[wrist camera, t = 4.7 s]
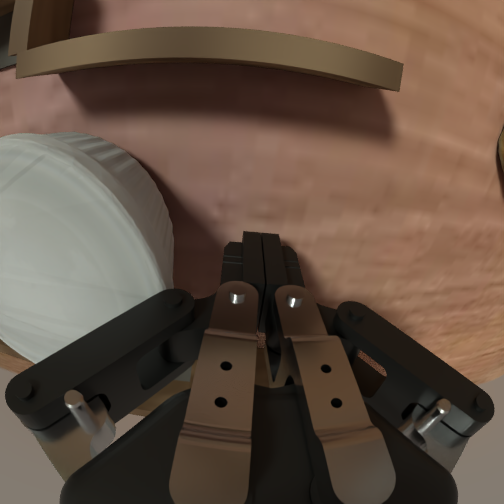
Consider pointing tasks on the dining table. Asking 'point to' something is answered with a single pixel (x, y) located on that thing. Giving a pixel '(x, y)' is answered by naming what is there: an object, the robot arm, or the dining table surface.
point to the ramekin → (75, 238)
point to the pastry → (501, 149)
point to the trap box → (174, 51)
